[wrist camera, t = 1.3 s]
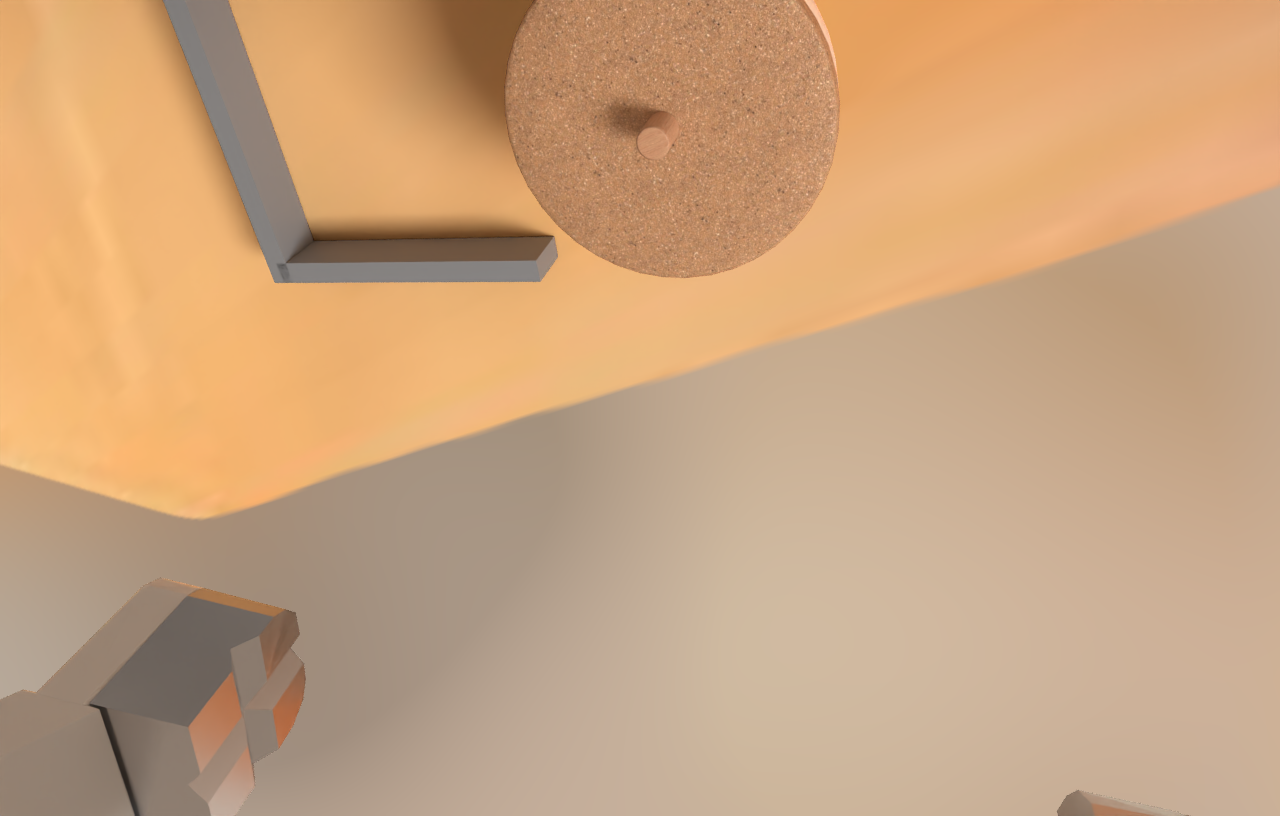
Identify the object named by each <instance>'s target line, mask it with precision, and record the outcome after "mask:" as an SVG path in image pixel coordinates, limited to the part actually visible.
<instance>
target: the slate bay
mask: <svg viewBox="0 0 1280 816" xmlns="http://www.w3.org/2000/svg"><path fill="white" fill-rule="evenodd" d="M163 2H164V4H165V7H166V9H167V12H168V14H169V17H170V19H171V22H172V24H173V27H174V29H175V32H176V35H177V37H178V40H179V42H180V45H181V47H182V50H183V52H184V55H185V57H186V60H187V62H188V65H189V67H190V70H191V72H192V75H193V77H194V80H195V82H196V85H197V88H198V90H199V93H200V95H201V98H202V100H203V103H204V105H205V108H206V110H207V113H208V115H209V118H210V120H211V123H212V125H213V128H214V130H215V133H216V135H217V138H218V141H219V143H220V146H221V148H222V151H223V153H224V156H225V158H226V161H227V163H228V166H229V168H230V171H231V173H232V176H233V178H234V181H235V183H236V186H237V188H238V191H239V194H240V196H241V199H242V201H243V204H244V206H245V209H246V211H247V214H248V216H249V219H250V221H251V224H252V226H253V229H254V231H255V234H256V236H257V239H258V241H259V244H260V247H261V249H262V252H263V254H264V257H265V259H266V262H267V264H268V267H269V269H270V272H271V274H272V277H273V279H274V282H275V283H340V282H541V280H542V279H543V277H544V276H545V274H546V273H547V272H548V270H549V269H550V267H551V266H552V265H553V263H554V262H555V260H556V259H557V257H558V254H557V249H556V244H555V238H554V236H550V237H496V238H443V239H389V240H336V241H314V240H313V237H312V234H311V232H310V229H309V226H308V223H307V220H306V218H305V215H304V212H303V209H302V206H301V204H300V201H299V198H298V195H297V192H296V190H295V187H294V184H293V181H292V178H291V176H290V173H289V170H288V167H287V164H286V162H285V159H284V156H283V153H282V150H281V148H280V145H279V142H278V139H277V136H276V134H275V131H274V128H273V125H272V122H271V120H270V117H269V114H268V111H267V108H266V106H265V103H264V100H263V97H262V94H261V92H260V89H259V86H258V83H257V80H256V78H255V75H254V72H253V69H252V66H251V64H250V61H249V58H248V55H247V52H246V50H245V47H244V44H243V41H242V38H241V36H240V33H239V30H238V27H237V24H236V22H235V19H234V16H233V13H232V11H231V8H230V5H229V2H228V0H163Z"/></svg>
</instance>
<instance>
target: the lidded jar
mask: <svg viewBox="0 0 1280 816" xmlns="http://www.w3.org/2000/svg"><path fill="white" fill-rule="evenodd" d="M839 112H840V99H839V90H838V77H837V68H836V59H835V55H834V51H833V47H832V44H831V40H830V36H829V33H828V30H827V27H826V25H825V23H824V21H823V19H822V16H821V14H820V12H819V10H818V8H817V5H816V3H815V2H814V0H534V1H533V3H532V4H531V6H530V7H529V9H528V10H527V12H526V14H525V16H524V18H523V20H522V22H521V24H520V26H519V29H518V31H517V33H516V35H515V38H514V42H513V45H512V48H511V52H510V55H509V59H508V64H507V72H506V79H505V116H506V122H507V128H508V134H509V139H510V142H511V146H512V149H513V152H514V155H515V158H516V161H517V164H518V166H519V168H520V170H521V172H522V175H523V177H524V179H525V181H526V183H527V185H528V187H529V188H530V190H531V191H532V193H533V195H534V196H535V198H536V199H537V201H538V202H539V204H540V205H541V207H542V208H543V209H544V210H545V211H546V213H547V214H548V215H549V216H550V217H551V218H552V219H553V221H554V222H555V223H556V224H557V225H558V226H559V227H560V228H561V229H562V230H563V231H564V232H566V233H567V234H568V235H569V236H570V237H571V238H572V239H574V240H575V241H576V242H577V243H579V244H580V245H582V246H583V247H585V248H586V249H588V250H589V251H591V252H592V253H594V254H595V255H597V256H599V257H601V258H603V259H605V260H607V261H609V262H611V263H613V264H615V265H617V266H620V267H623V268H626V269H630V270H633V271H636V272H639V273H643V274H649V275H655V276H660V277H677V278H690V277H698V276H707V275H712V274H716V273H720V272H724V271H727V270H731V269H734V268H736V267H739V266H741V265H743V264H745V263H748V262H750V261H752V260H754V259H756V258H758V257H759V256H761V255H762V254H764V253H765V252H767V251H769V250H770V249H772V248H773V247H775V246H776V245H777V244H778V243H779V242H781V241H782V240H783V239H784V238H785V237H786V236H787V235H788V234H790V233H791V232H792V231H793V230H794V229H795V228H796V226H797V225H798V224H799V223H800V221H801V220H802V219H803V218H804V217H805V215H806V214H807V213H808V212H809V210H810V209H811V207H812V205H813V204H814V202H815V200H816V198H817V197H818V195H819V193H820V191H821V190H822V188H823V185H824V183H825V180H826V178H827V175H828V172H829V170H830V167H831V165H832V161H833V156H834V151H835V147H836V142H837V137H838V131H839Z"/></svg>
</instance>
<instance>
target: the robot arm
mask: <svg viewBox="0 0 1280 816" xmlns="http://www.w3.org/2000/svg"><path fill="white" fill-rule="evenodd" d="M299 635H300V632H299V627H298V622H297V617H296V613H295V612H292V611H289V610H286V609H282V608H278V607H275V606H271V605H267V604H263V603H259V602H255V601H251V600H248V599H244V598H240V597H236V596H232V595H228V594H224V593H221V592H217V591H213V590H209V589H205V588H201V587H197V586H192V585H188V584H184V583H180V582H176V581H172V580H168V579H164V578H159V579H157V580H155V581H152V582H150V583H148V584H146V585H144V586H143V587H141V588H140V589H139V590H138V591H137V592H136V593H135V594H134V595H133V596H132V597H131V599H129V600H128V601H127V602H126V603H125V604H124V605H123V606H122V608H120V609H119V610H118V611H117V612H116V613H115V614H114V615H113V616H112V617H111V618H110V620H108V621H107V623H105V624H104V625H103V626H102V627H101V628H100V629H99V630H98V631H97V632H96V634H94V635H93V636H92V637H91V638H90V639H89V641H87V642H86V644H85V645H83V646H82V647H81V649H79V650H78V652H77V653H75V655H73V656H72V658H70V659H69V660H68V661H67V662H66V664H64V665H63V666H62V667H61V669H60V670H58V671H57V672H56V673H55V674H54V676H52V677H51V679H49V680H48V681H47V682H46V683H45V684H44V686H42V688H41V689H40V690H38V691H37V692H32V691H27V690H21V691H19V692H17V693H14V694H12V695H10V696H7V697H5V698H3V699H1V700H0V816H236V814H237V813H238V811H239V810H240V808H241V807H242V805H243V804H244V802H245V800H246V799H247V798H248V796H249V794H250V793H251V791H252V790H253V788H254V786H255V776H254V765H253V764H254V763H255V762H257V761H259V760H260V759H262V758H264V757H266V756H268V755H269V754H271V753H273V752H274V751H276V750H278V749H279V748H280V746H281V745H282V743H283V741H284V740H285V738H286V737H287V735H288V733H289V732H290V730H291V728H292V727H293V725H294V722H295V719H296V717H297V714H298V712H299V709H300V706H301V704H302V701H303V696H304V689H305V680H306V677H305V668H304V663H303V662H302V660H301V659H300V658H299V657H298V656H297V655H296V653H295V652H294V651H293V650H292V649H291V646H292V645H293V644H294V642H295V641H296V639H297V638H298V636H299ZM1057 813H1058V816H1189V815H1182V814H1181V813H1179V812H1176V811H1172V810H1167V809H1163V808H1158V807H1153V806H1149V805H1144V804H1140V803H1135V802H1130V801H1126V800H1121V799H1116V798H1112V797H1107V796H1102V795H1098V794H1093V793H1089V792H1084V791H1079V790H1077V791H1075V792H1073V793H1071V794H1069V795H1067V796H1066V798H1065V799H1064V801H1063V802H1062V804H1061V806H1060V807H1059V809H1058V810H1057Z"/></svg>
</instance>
